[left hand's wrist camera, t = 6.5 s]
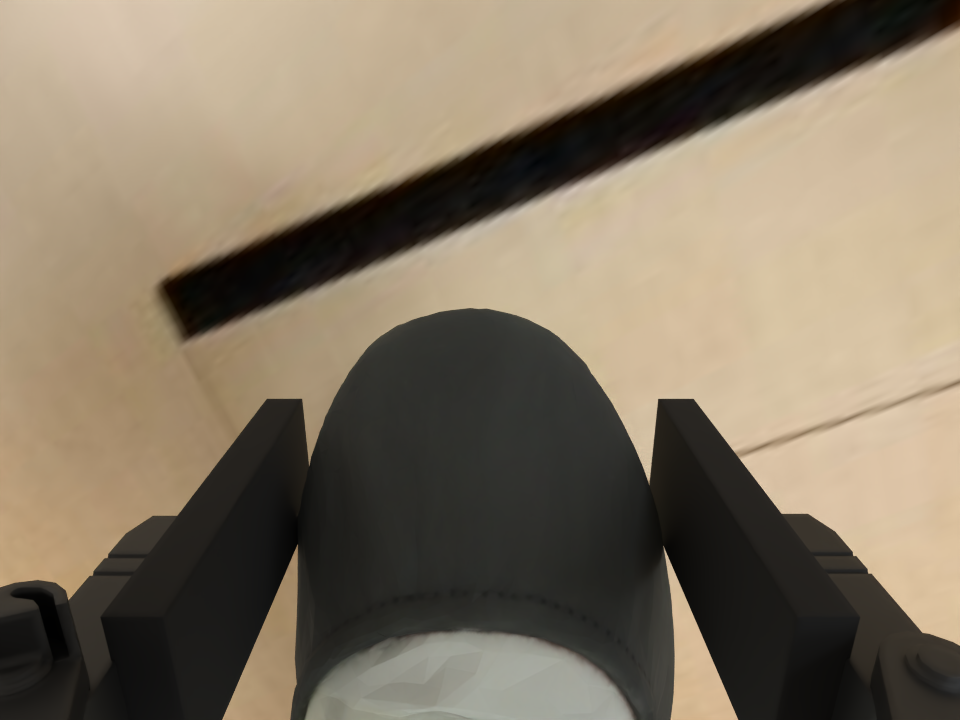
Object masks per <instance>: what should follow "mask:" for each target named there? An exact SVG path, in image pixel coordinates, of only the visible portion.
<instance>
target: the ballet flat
mask: <svg viewBox="0 0 960 720" xmlns="http://www.w3.org/2000/svg"><path fill="white" fill-rule="evenodd" d="M297 536H298V598H297V628H296V648H295V665H296V678H297V685H296V688H295V691H294V696H293V702H292V711H291V720H670V719H671V711H672V703H673V693H674V691H673V690H674V657H675V656H674V629H673V617H672V602H671V593H670V585H669V579H668V573H667V566H666V559H665V553H664V547H663V541H662V530H661V526H660V521H659V516H658V512H657V509H656V505H655V502H654V498H653V495H652V492H651V489H650V486H649V483H648V480H647V477H646V475H645V472H644V469H643V466H642V464H641V461H640V459H639V457H638V454H637V452H636V450H635V447H634V445H633V443H632V441H631V439H630V437H629V435H628V433H627V431H626V429H625V427H624V425H623V423H622V421H621V419H620V417H619V416H618V414H617V412H616V410H615V408H614V406H613V404H612V403H611V401H610V400H609V398H608V397H607V395H606V394H605V392H604V391H603V389H602V387H601V386H600V385H599V384H598V382H597V381H596V379H595V378H594V376H593V375H592V374H591V372H590V370H589V369H588V367H587V365H586V364H585V363H584V362H583V360H582V359H581V358H580V357H579V356H578V355H577V354H576V353H575V352H574V351H573V350H572V349H571V348H570V347H569V346H568V345H567V344H566V343H565V342H563V341H562V340H561V339H560V338H559V337H558V336H556V335H555V334H554V333H552V332H551V331H549V330H547V329H545V328H543V327H541V326H540V325H538V324H536V323H534V322H532V321H530V320H527V319H525V318H522V317H519V316H516V315H512V314H508V313H504V312H500V311H495V310H490V309H473V308H468V309H459V310H450V311H443V312H438V313H435V314H432V315H428V316H424V317H420V318H417V319H414V320H411V321H409V322H407V323H404V324H401V325H398V326H396V327H395V328H393V329H392V330H390V331H388V332H387V333H385V334H384V335H382V336H381V337H379V338H378V339H377V340H376V341H375V342H373V343H372V344H371V345H370V346H369V347H368V348H367V350H366V351H365V352H364V354H363V355H362V356H361V357H360V359H359V360H358V362H357V363H356V364H355V365H354V367H353V368H352V369H351V371H350V372H349V374H348V376H347V378H346V379H345V381H344V383H343V384H342V385H341V387H340V389H339V391H338V393H337V395H336V396H335V398H334V400H333V403H332V405H331V407H330V409H329V411H328V413H327V415H326V417H325V420H324V423H323V426H322V428H321V430H320V433H319V436H318V439H317V442H316V445H315V448H314V451H313V454H312V456H311V461H310V466H309V468H308V471H307V477H306V482H305V485H304V489H303V493H302V497H301V506H300V511H299V514H298V525H297Z"/></svg>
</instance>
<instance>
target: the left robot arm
mask: <svg viewBox="0 0 960 720" xmlns="http://www.w3.org/2000/svg"><path fill="white" fill-rule="evenodd" d="M308 468H309V461H308V452H307V442H306V432H305V422H304V413H303V403H302V399H267V400H266V401H265V402H264V404H263V405H262V406H261V407H260V409H259V410H258V411H257V413H256V414H255V415H254V417H253V418H252V419H251V420H250V422H249V423H248V424H247V426H246V427H245V428H244V430H243V431H242V432H241V434H240V435H239V436H238V437H237V439H236V440H235V441H234V443H233V444H232V445H231V447H230V448H229V449H228V451H227V452H226V453H225V454H224V456H223V457H222V458H221V460H220V461H219V462H218V464H217V465H216V466H215V468H214V469H213V470H212V471H211V473H210V474H209V475H208V477H207V478H206V479H205V481H204V482H203V483H202V485H201V486H200V487H199V488H198V490H197V491H196V492H195V494H194V495H193V496H192V498H191V499H190V500H189V501H188V503H187V504H186V505H185V507H184V508H183V509H182V511H181V512H180V513H179V515H178V516H152V517H151V518H149V519H148V520H146V521H145V522H143V523H142V524H140V525H138V526H137V527H135V528H134V529H132V530H131V531H129V532H128V533H126V534H125V535H124V537H123V538H122V539H121V540H120V541H119V542H118V544H117V545H116V546H115V547H114V548H113V549H112V551H111V552H110V553H109V554H108V558H105V559H104V560H103V561H102V562H101V563H100V565H99V566H98V567H97V568H96V569H95V570H94V574H93V576H89V577H88V579H87V580H86V581H85V582H84V583H83V584H82V586H81V587H80V588H79V589H78V590H77V591H76V593H75V594H74V595H73V596H72V597H71V598H70V600H69V601H68V597H67V594H66V590H64V589H63V588H62V587H60V586H59V585H58V584H56V583H53V582H47V581H40V580H35V581H27V582H18V583H13V584H10V585H7V586H4V587H0V720H222V719H223V716H224V714H225V712H226V709H227V707H228V705H229V702H230V700H231V698H232V695H233V693H234V691H235V688H236V686H237V684H238V682H239V679H240V677H241V675H242V672H243V670H244V668H245V665H246V663H247V661H248V658H249V656H250V654H251V651H252V649H253V647H254V644H255V642H256V640H257V637H258V635H259V633H260V630H261V628H262V626H263V623H264V621H265V619H266V616H267V614H268V612H269V609H270V607H271V605H272V603H273V600H274V598H275V596H276V593H277V591H278V589H279V586H280V584H281V582H282V579H283V577H284V575H285V572H286V570H287V568H288V565H289V563H290V561H291V558H292V556H293V554H294V551H295V549H296V547H297V544H298V536H297V525H298V514H299V511H300V506H301V497H302V493H303V489H304V485H305V482H306V477H307V471H308ZM649 486H650V489H651V492H652V495H653V498H654V502H655V505H656V509H657V512H658V516H659V521H660V526H661V530H662V541H663V546H664V548H665V550H666V553H667V555H668V557H669V560H670V562H671V564H672V567H673V569H674V571H675V574H676V576H677V578H678V581H679V583H680V585H681V588H682V590H683V592H684V594H685V597H686V599H687V601H688V604H689V606H690V608H691V611H692V613H693V615H694V618H695V620H696V622H697V625H698V627H699V629H700V632H701V634H702V636H703V639H704V641H705V643H706V646H707V648H708V650H709V653H710V655H711V657H712V660H713V662H714V664H715V666H716V669H717V671H718V673H719V676H720V678H721V680H722V683H723V685H724V687H725V690H726V692H727V694H728V697H729V699H730V701H731V704H732V706H733V708H734V711H735V713H736V715H737V718H738V720H960V646H959V645H957V644H955V643H954V642H951V641H948V640H945V639H942V638H939V637H936V636H934V635H931V634H926V633H922V632H921V631H920V629H919V628H918V627H917V626H916V625H915V624H914V623H913V621H912V620H911V619H910V618H909V617H908V616H907V614H906V613H905V612H904V611H903V610H902V609H901V607H900V606H899V605H898V604H897V603H896V602H895V601H894V599H893V598H892V597H891V596H890V595H889V594H888V592H887V591H886V590H885V589H884V588H883V587H882V585H881V584H880V583H879V582H878V581H877V580H876V579H875V577H874V576H873V575H872V574H868V569H867V568H866V567H865V566H864V565H863V563H862V562H861V561H860V560H859V559H858V558H857V556H853V552H852V551H851V550H850V548H849V547H848V546H847V545H846V544H845V543H844V541H843V540H842V539H841V538H840V537H839V536H838V534H837V533H836V532H835V531H833V530H832V529H830V528H829V527H827V526H826V525H824V524H823V523H821V522H819V521H818V520H816V519H815V518H813V517H812V516H810V515H809V514H781V513H780V511H779V510H778V509H777V507H776V506H775V505H774V503H773V502H772V501H771V500H770V498H769V497H768V496H767V494H766V493H765V492H764V490H763V489H762V488H761V486H760V485H759V484H758V483H757V481H756V480H755V479H754V477H753V476H752V475H751V473H750V472H749V471H748V469H747V468H746V467H745V466H744V464H743V463H742V462H741V460H740V459H739V458H738V456H737V455H736V454H735V453H734V451H733V450H732V449H731V447H730V446H729V445H728V443H727V442H726V441H725V439H724V438H723V437H722V436H721V434H720V433H719V432H718V430H717V429H716V428H715V426H714V425H713V424H712V422H711V421H710V420H709V419H708V417H707V416H706V415H705V413H704V412H703V411H702V409H701V408H700V407H699V405H698V404H697V403H696V402H695V400H694V399H658V408H657V417H656V427H655V437H654V446H653V456H652V466H651V476H650V485H649Z"/></svg>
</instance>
